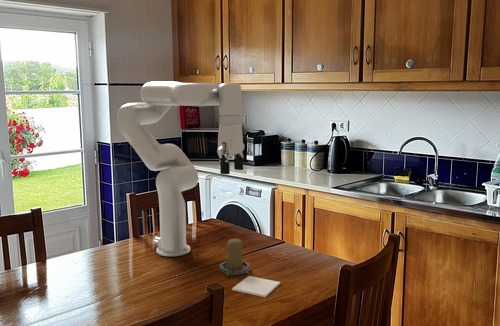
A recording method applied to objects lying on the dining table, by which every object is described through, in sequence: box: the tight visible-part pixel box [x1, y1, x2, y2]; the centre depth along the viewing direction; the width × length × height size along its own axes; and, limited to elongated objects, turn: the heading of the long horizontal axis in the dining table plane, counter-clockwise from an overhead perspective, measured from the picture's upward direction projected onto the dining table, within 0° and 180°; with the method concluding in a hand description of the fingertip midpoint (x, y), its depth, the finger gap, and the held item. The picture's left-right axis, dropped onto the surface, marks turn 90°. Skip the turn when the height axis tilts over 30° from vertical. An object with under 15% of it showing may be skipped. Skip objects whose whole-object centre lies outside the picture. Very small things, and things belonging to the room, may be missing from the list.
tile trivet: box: [231, 275, 281, 298], centre depth 147 cm, size 11×11×1 cm
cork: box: [225, 238, 244, 276], centre depth 158 cm, size 6×6×11 cm
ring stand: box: [219, 260, 251, 278], centre depth 159 cm, size 10×10×2 cm
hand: (232, 171), depth 161 cm, fingers open, 9 cm apart
